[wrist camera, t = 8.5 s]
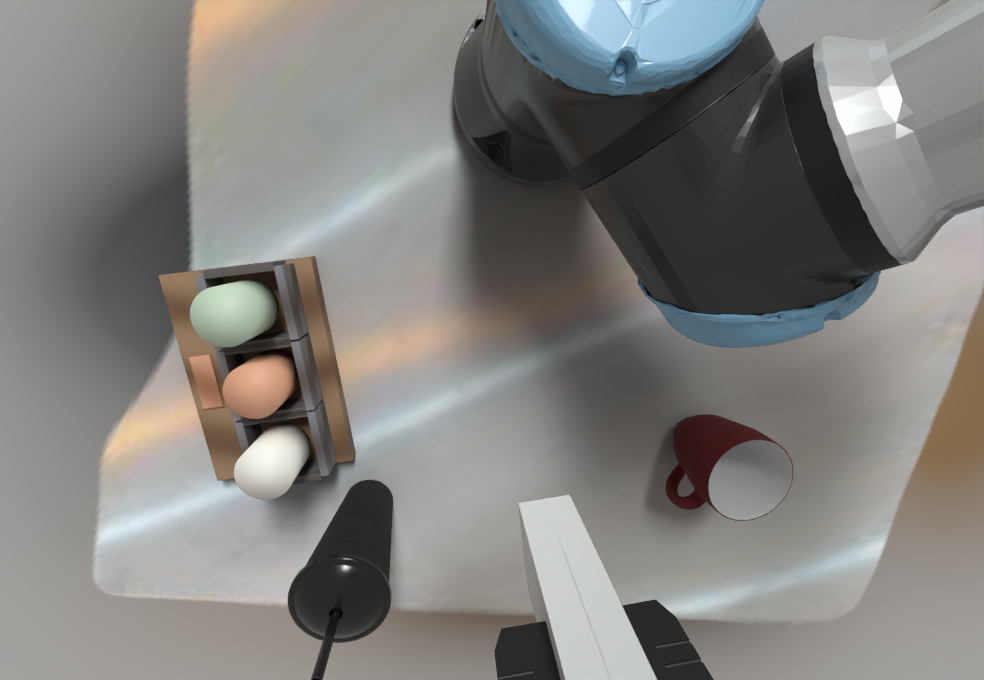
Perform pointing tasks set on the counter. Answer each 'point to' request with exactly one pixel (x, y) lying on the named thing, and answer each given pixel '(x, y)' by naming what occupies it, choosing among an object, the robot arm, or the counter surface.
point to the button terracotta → (261, 384)
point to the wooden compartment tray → (294, 333)
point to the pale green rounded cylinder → (234, 312)
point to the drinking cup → (347, 573)
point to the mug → (729, 468)
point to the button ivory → (272, 461)
